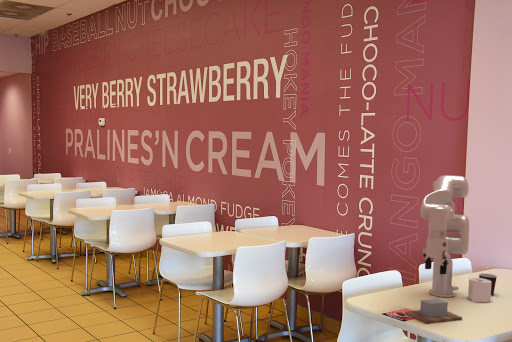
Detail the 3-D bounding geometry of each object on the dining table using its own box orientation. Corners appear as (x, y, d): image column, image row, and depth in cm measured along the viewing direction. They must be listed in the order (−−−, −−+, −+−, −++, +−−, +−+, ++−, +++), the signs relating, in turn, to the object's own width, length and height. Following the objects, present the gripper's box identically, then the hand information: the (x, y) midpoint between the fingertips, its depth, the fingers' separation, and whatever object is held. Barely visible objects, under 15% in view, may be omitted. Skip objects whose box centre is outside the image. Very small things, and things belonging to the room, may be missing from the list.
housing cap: (437, 311, 241) (438, 298, 241) (447, 315, 235) (447, 302, 235) (420, 313, 237) (420, 300, 237) (429, 317, 232) (429, 304, 231)
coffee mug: (496, 297, 274) (497, 278, 274) (478, 295, 277) (479, 276, 276) (494, 291, 285) (495, 273, 285) (477, 289, 288) (478, 271, 287)
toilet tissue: (487, 297, 272) (488, 278, 272) (493, 304, 260) (494, 284, 260) (466, 295, 274) (467, 276, 274) (470, 302, 263) (471, 282, 262)
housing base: (440, 310, 247) (440, 301, 246) (462, 319, 234) (462, 310, 233) (405, 314, 239) (405, 305, 239) (425, 324, 226) (426, 314, 226)
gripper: (457, 236, 229) (455, 275, 230) (430, 230, 245) (429, 266, 246) (444, 237, 226) (442, 276, 227) (417, 230, 242) (416, 267, 243)
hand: (435, 271), depth 237 cm, fingers open, 9 cm apart
